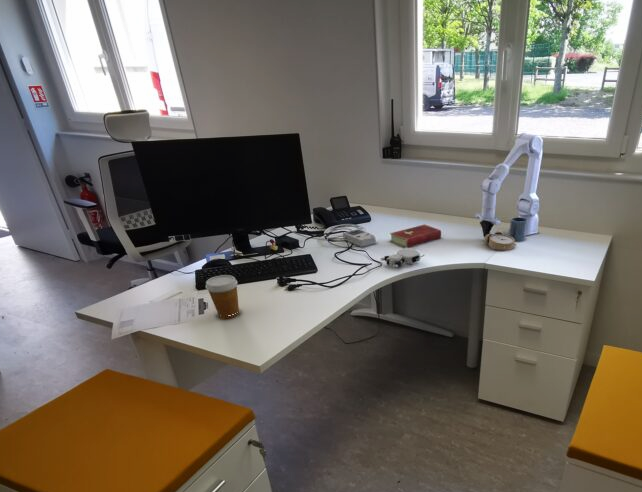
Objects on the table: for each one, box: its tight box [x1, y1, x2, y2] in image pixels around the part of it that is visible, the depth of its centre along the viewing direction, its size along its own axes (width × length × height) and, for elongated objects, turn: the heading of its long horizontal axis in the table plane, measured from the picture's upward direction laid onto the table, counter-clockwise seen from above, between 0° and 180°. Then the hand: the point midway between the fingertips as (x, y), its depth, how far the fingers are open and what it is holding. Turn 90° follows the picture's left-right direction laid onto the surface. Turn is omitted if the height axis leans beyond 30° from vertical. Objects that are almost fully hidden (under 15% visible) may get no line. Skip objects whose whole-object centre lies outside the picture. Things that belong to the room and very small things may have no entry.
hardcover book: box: [389, 223, 442, 248], centre depth 210 cm, size 12×21×4 cm, turn 130°
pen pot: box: [508, 216, 527, 242], centre depth 210 cm, size 7×7×9 cm
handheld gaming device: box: [342, 228, 377, 248], centre depth 208 cm, size 9×15×4 cm, turn 41°
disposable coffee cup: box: [205, 274, 240, 320], centre depth 145 cm, size 10×10×12 cm
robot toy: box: [380, 247, 425, 268], centre depth 185 cm, size 12×4×15 cm
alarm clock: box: [483, 231, 517, 251], centre depth 204 cm, size 11×5×15 cm
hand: (486, 236), depth 210 cm, fingers closed
